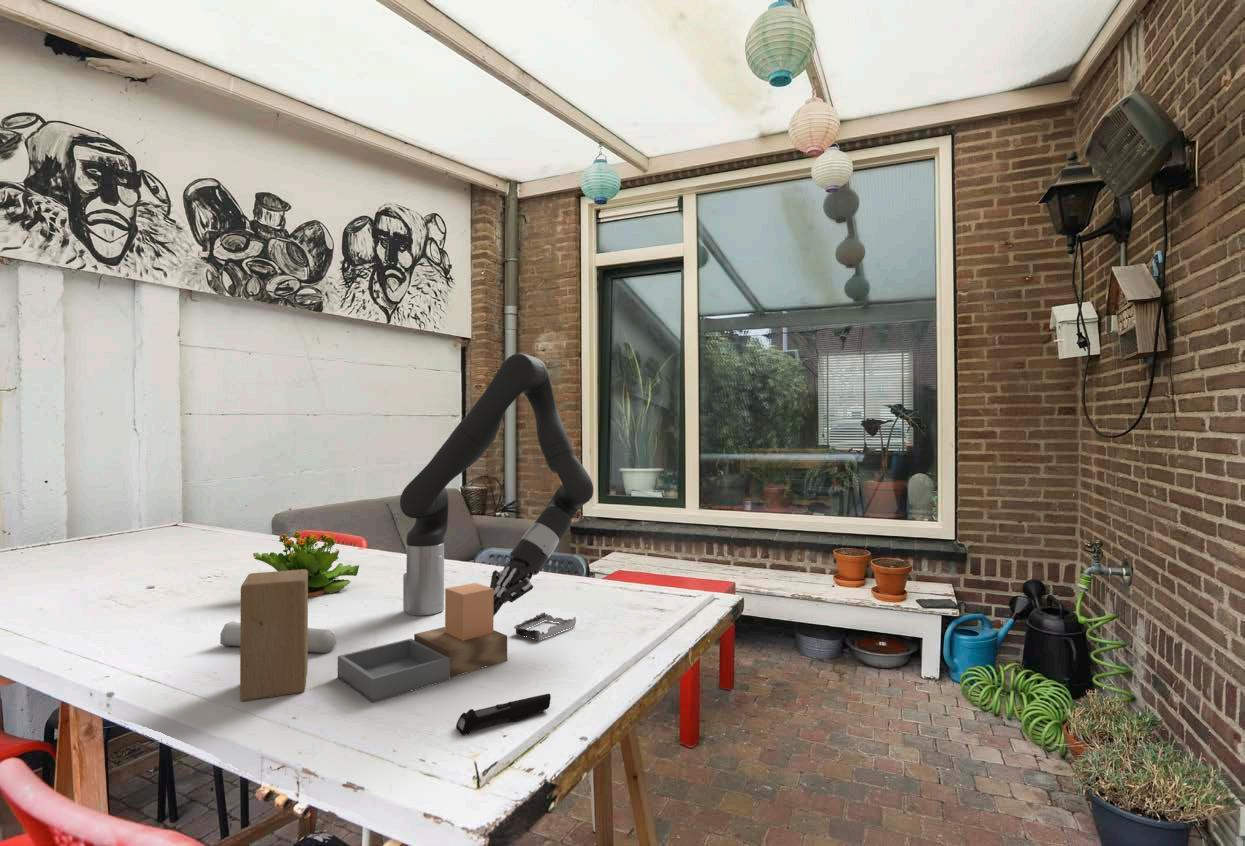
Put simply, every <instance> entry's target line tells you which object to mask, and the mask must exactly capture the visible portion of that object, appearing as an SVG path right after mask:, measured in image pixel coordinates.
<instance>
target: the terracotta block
mask: <svg viewBox="0 0 1245 846" xmlns="http://www.w3.org/2000/svg"><path fill="white" fill-rule="evenodd" d="M493 612H494V589H493V588H490V586H487V585H483V584H480V583H477V582H472V583H467V584H461V585H457V586H451V587H446V588H445V587H444V614H445V615H444V616H445V618H444V620H445V621H444V625H445V626H444V627H445V633H447V634H450V635H452V636H454V637H456V638H458V639H461V640H463V641H464V640H467V639H471V638H475V637H479V636H483V635H487V634H491V633H493V630H494V617H493Z"/></svg>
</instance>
